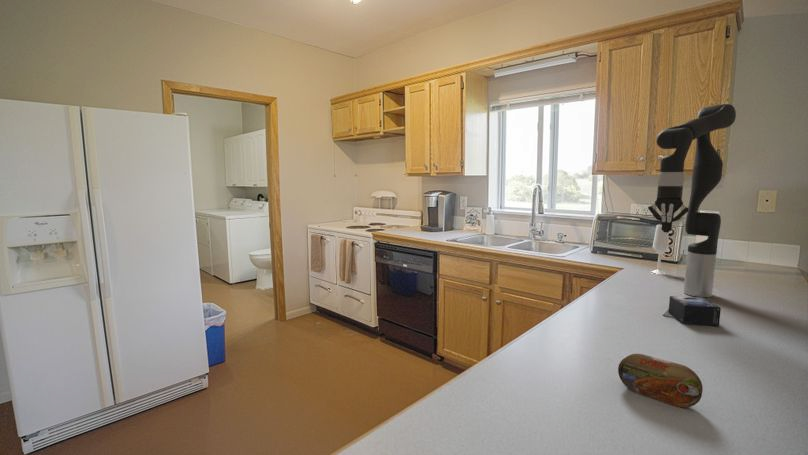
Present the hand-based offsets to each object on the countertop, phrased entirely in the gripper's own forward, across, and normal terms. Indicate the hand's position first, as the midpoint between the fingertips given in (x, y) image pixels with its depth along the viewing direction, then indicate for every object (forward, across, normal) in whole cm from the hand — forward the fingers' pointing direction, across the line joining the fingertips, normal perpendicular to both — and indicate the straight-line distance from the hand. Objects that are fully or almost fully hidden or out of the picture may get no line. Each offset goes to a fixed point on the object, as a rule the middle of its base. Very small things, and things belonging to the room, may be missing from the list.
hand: (666, 232), depth 142 cm
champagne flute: (+27, +12, -54) cm, 62 cm away
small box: (+24, -16, +10) cm, 30 cm away
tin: (+27, -15, +74) cm, 80 cm away
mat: (+27, -9, +8) cm, 30 cm away
